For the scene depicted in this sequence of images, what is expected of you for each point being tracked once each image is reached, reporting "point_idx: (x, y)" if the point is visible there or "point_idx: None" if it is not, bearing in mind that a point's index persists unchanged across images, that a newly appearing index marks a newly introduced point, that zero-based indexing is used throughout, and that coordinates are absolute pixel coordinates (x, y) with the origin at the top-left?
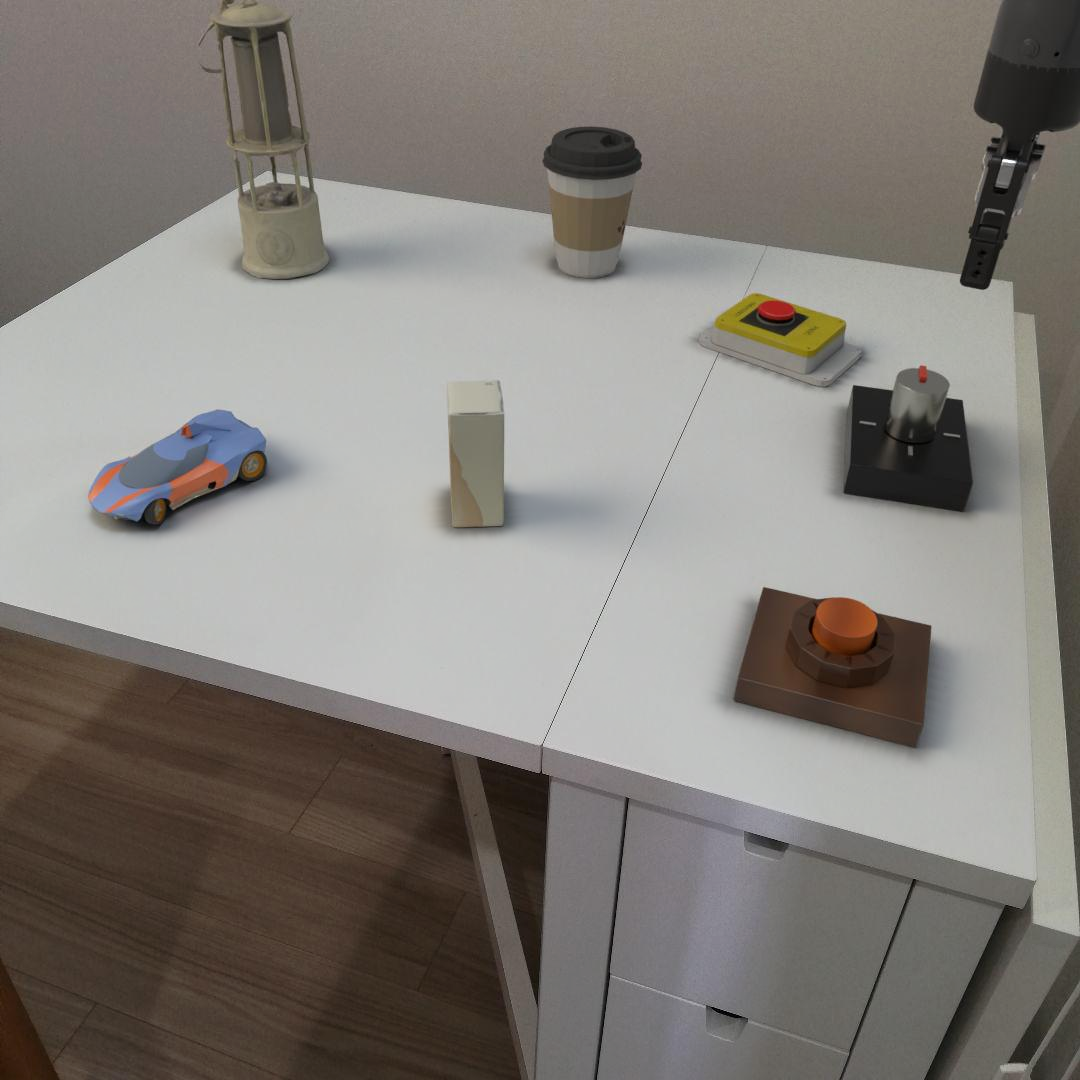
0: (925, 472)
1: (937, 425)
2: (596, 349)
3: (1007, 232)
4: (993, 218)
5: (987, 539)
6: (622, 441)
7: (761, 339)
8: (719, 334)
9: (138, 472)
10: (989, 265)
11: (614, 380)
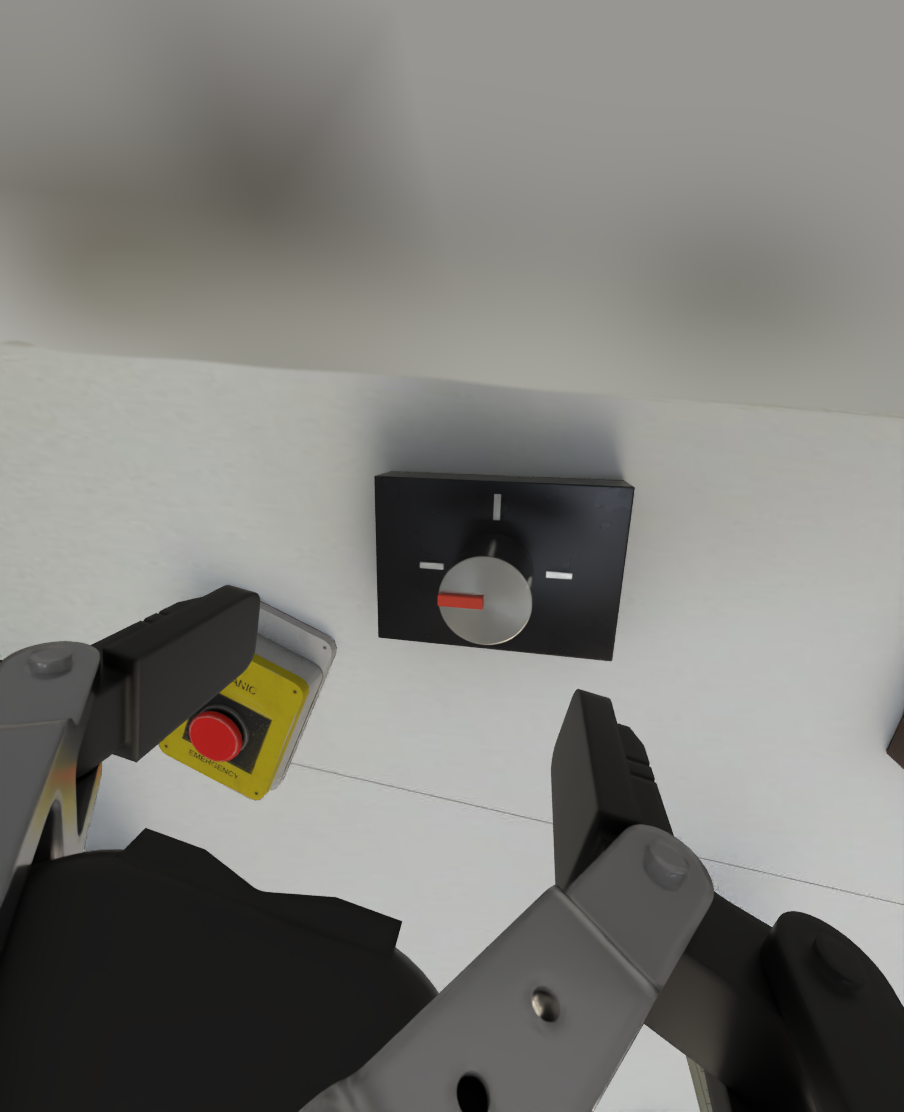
0: (616, 558)
1: (508, 541)
2: (333, 889)
3: (216, 613)
4: (181, 689)
5: (692, 452)
6: (536, 871)
7: (285, 745)
8: (274, 782)
9: None
10: (655, 786)
11: (399, 874)
